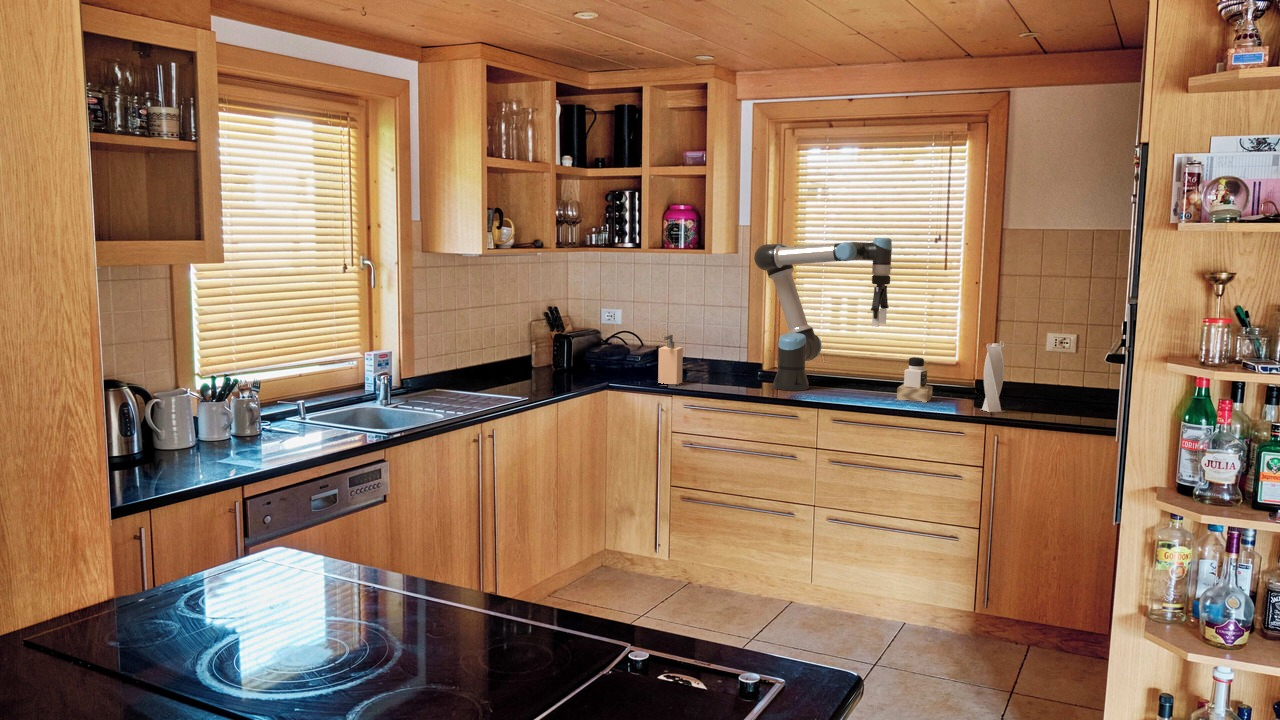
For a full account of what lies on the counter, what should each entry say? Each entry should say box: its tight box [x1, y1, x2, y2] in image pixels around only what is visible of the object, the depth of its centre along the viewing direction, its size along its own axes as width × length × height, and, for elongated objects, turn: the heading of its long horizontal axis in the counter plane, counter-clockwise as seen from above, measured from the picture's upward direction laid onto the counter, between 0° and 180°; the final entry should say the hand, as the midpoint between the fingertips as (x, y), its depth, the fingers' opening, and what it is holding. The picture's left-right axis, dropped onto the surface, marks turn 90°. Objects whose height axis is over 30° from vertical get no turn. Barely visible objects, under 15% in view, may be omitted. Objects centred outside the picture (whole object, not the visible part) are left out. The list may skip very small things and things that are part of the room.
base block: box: [896, 383, 934, 403], centre depth 412 cm, size 12×12×5 cm
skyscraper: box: [979, 340, 1006, 413], centre depth 384 cm, size 8×8×28 cm
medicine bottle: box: [903, 356, 928, 388], centre depth 411 cm, size 7×7×12 cm
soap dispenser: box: [657, 334, 684, 384], centre depth 440 cm, size 13×9×22 cm
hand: (879, 325), depth 425 cm, fingers open, 13 cm apart
